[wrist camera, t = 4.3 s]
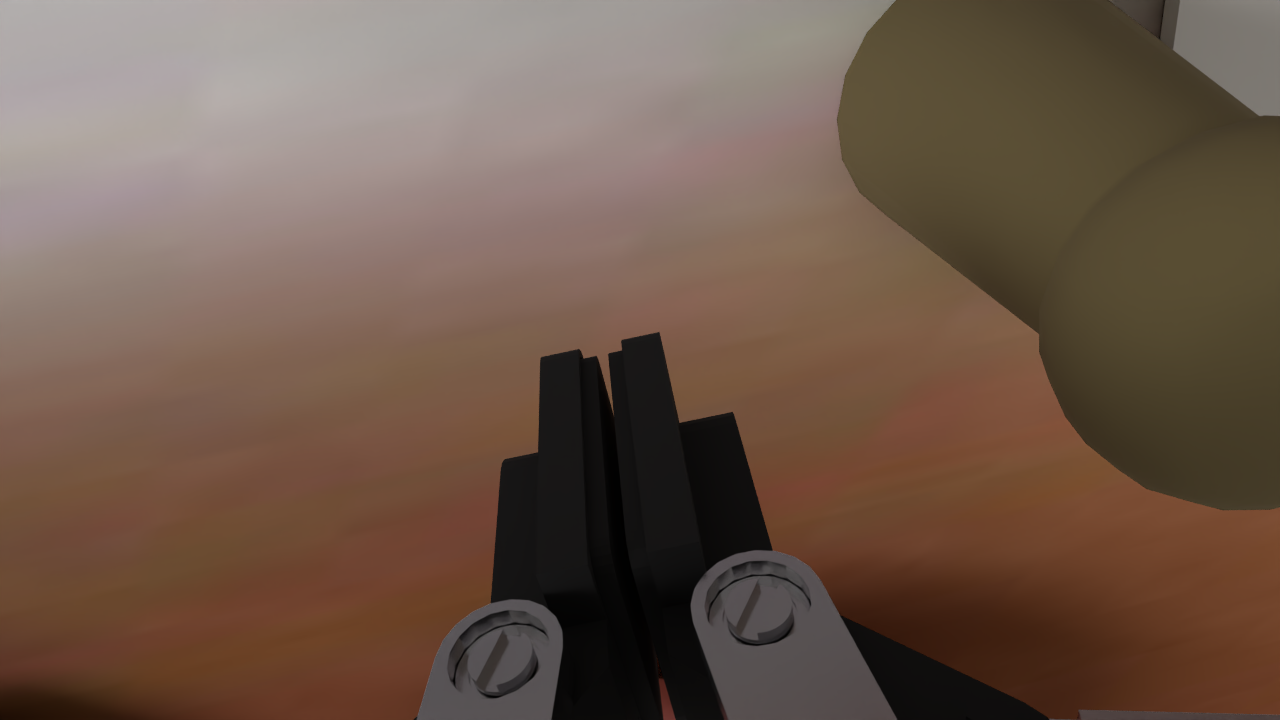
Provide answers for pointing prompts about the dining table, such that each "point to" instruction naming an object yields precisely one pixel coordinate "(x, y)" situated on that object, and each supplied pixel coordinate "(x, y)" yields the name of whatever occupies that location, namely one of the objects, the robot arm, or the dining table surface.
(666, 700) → the cell model
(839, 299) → the dining table surface
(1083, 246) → the cork
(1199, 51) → the mat
